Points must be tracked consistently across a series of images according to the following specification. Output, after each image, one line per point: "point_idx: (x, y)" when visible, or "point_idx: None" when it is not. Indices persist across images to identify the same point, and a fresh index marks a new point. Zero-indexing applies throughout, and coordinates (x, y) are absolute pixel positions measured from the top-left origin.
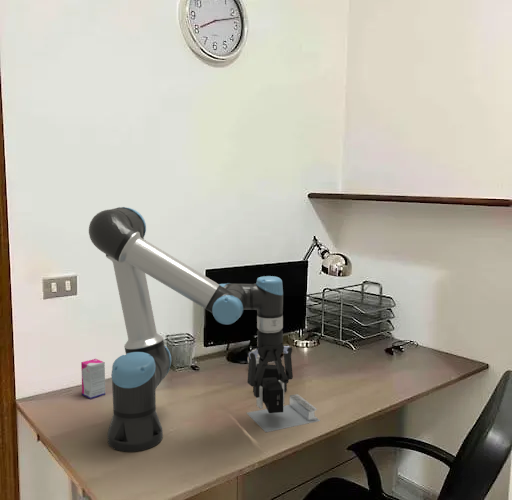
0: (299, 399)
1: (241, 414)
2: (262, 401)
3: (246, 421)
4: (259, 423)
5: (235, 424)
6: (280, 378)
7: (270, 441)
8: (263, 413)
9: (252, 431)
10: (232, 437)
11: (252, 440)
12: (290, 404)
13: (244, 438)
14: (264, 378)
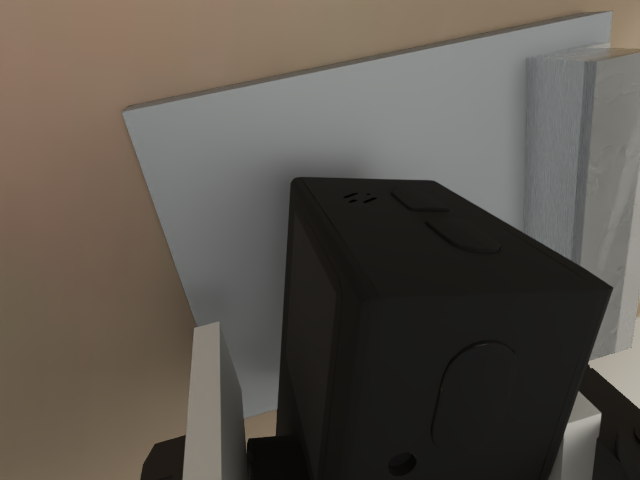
0: (620, 177)
1: (87, 28)
2: (243, 445)
3: (125, 179)
4: (210, 316)
5: (25, 215)
6: (624, 462)
7: (245, 438)
8: (277, 156)
9: (155, 330)
10: (5, 392)
11: (142, 427)
12: (539, 76)
13: (92, 405)
14: (396, 326)
